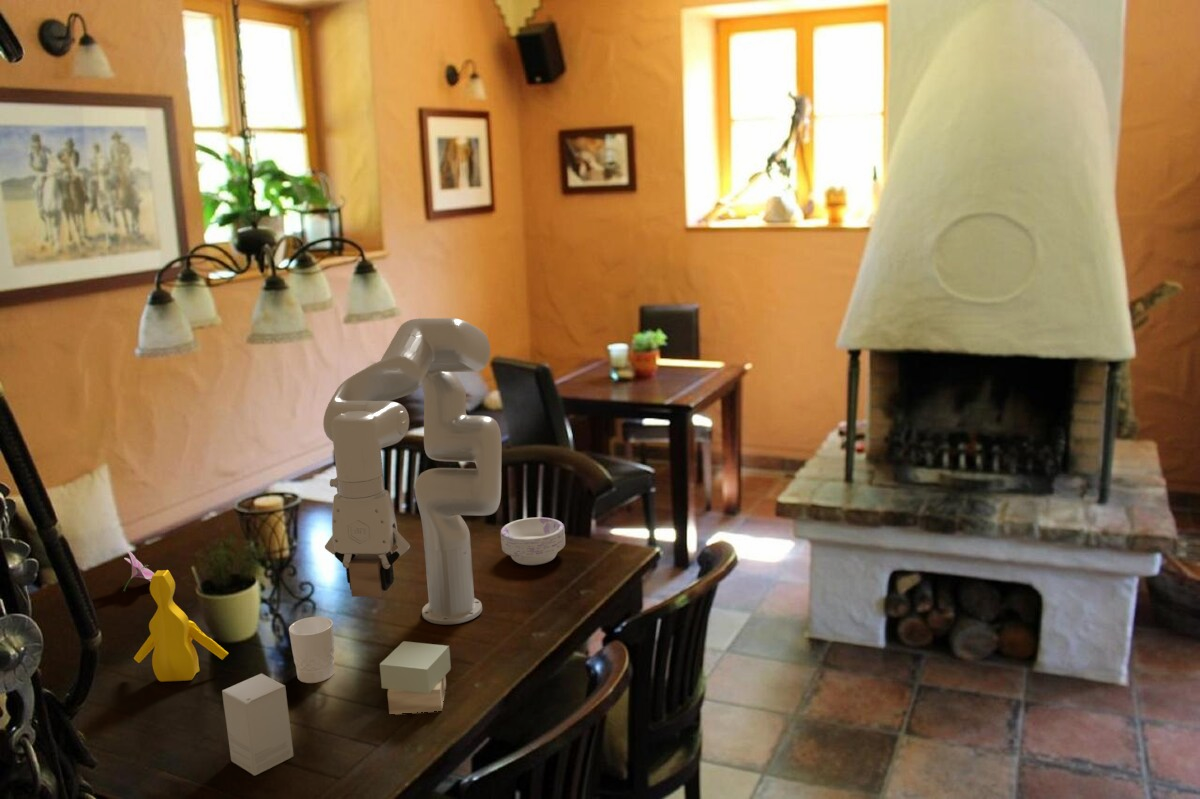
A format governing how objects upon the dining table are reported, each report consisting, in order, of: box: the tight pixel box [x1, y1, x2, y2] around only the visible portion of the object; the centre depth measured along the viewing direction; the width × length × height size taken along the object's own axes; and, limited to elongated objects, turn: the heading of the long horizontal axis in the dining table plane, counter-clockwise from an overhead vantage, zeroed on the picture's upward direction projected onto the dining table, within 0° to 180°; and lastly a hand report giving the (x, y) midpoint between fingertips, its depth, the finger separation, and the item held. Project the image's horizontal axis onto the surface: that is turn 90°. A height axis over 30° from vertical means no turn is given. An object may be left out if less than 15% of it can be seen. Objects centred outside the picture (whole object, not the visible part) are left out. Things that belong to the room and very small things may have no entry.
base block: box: [387, 675, 447, 715], centre depth 185 cm, size 9×9×4 cm
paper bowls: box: [500, 516, 566, 566], centre depth 248 cm, size 15×15×8 cm
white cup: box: [288, 616, 335, 684], centre depth 195 cm, size 8×8×10 cm
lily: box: [122, 545, 155, 592], centre depth 239 cm, size 12×12×10 cm
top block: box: [379, 641, 452, 693], centre depth 184 cm, size 9×9×4 cm
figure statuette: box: [133, 569, 229, 682], centre depth 194 cm, size 18×8×22 cm, turn 91°
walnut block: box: [348, 554, 386, 598], centre depth 177 cm, size 5×5×6 cm
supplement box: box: [221, 673, 294, 776], centre depth 167 cm, size 7×7×13 cm
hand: (371, 586), depth 178 cm, fingers closed on walnut block, 5 cm apart
